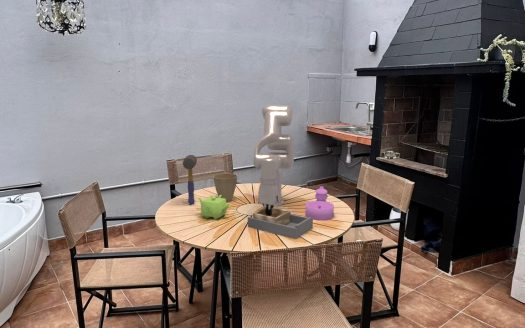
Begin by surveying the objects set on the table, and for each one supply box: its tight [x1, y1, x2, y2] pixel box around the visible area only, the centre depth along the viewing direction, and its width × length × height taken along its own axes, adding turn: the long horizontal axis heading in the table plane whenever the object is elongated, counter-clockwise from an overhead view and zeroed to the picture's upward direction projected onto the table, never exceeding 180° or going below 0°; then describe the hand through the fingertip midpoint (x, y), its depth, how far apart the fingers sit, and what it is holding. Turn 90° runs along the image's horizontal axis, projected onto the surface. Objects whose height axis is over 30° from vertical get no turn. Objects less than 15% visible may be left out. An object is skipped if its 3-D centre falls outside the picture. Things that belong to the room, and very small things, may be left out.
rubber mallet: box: [182, 154, 198, 206], centre depth 226 cm, size 12×8×30 cm, turn 3°
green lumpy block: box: [197, 195, 231, 220], centre depth 206 cm, size 15×14×11 cm
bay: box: [247, 213, 314, 240], centre depth 190 cm, size 28×17×6 cm, turn 56°
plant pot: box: [212, 172, 238, 203], centre depth 235 cm, size 15×15×16 cm
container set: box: [304, 186, 335, 221], centre depth 212 cm, size 25×15×13 cm, turn 168°
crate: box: [252, 207, 292, 225], centre depth 193 cm, size 14×14×6 cm
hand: (268, 215), depth 194 cm, fingers closed
